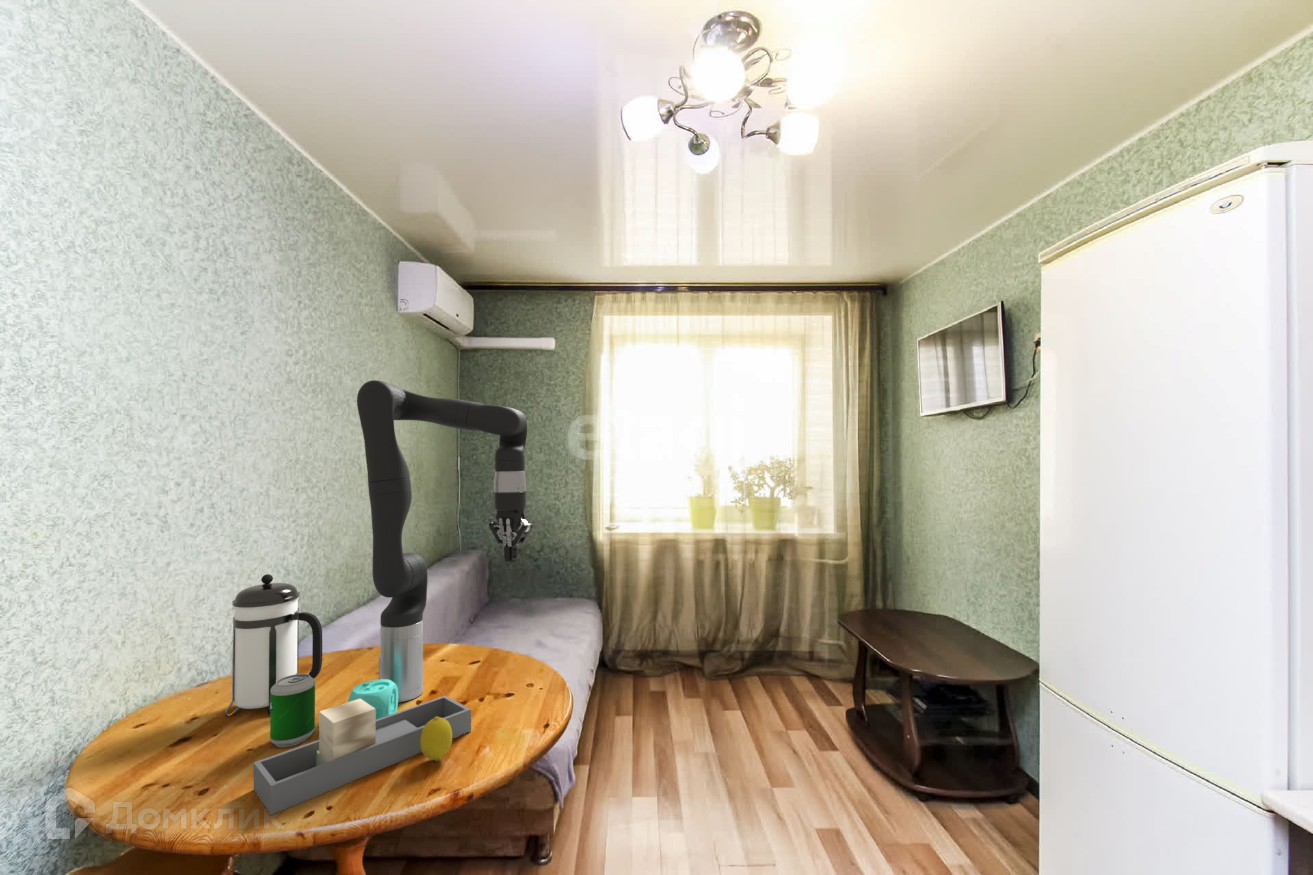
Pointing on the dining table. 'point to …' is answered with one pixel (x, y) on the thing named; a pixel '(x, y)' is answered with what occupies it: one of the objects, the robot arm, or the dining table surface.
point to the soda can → (292, 710)
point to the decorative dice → (378, 696)
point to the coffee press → (267, 641)
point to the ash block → (346, 729)
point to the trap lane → (351, 756)
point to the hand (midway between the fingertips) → (510, 561)
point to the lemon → (436, 738)
